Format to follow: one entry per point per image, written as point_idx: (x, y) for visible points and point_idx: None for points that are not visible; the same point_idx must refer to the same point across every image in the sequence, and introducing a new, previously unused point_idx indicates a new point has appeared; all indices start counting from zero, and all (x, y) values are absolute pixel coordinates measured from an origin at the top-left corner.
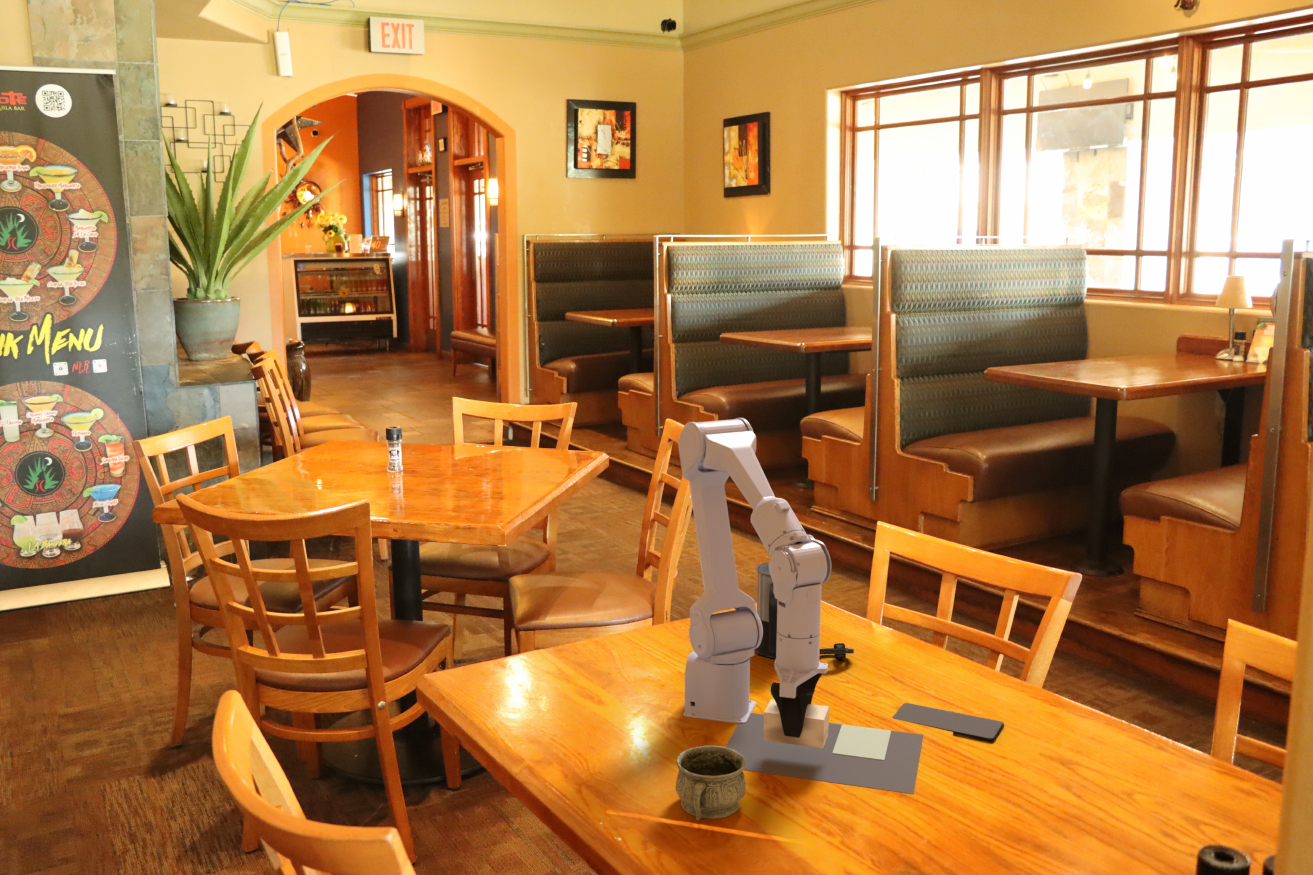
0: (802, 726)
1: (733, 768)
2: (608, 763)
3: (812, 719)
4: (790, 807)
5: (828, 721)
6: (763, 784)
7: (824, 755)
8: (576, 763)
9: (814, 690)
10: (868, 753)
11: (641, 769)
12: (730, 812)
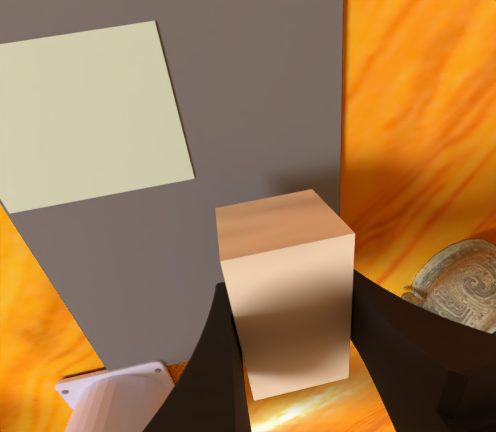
0: (358, 272)
1: (460, 302)
2: (359, 406)
3: (352, 266)
4: (446, 173)
5: (221, 227)
6: (369, 245)
7: (213, 190)
8: (368, 423)
9: (471, 372)
10: (141, 85)
11: (365, 379)
12: (489, 248)
